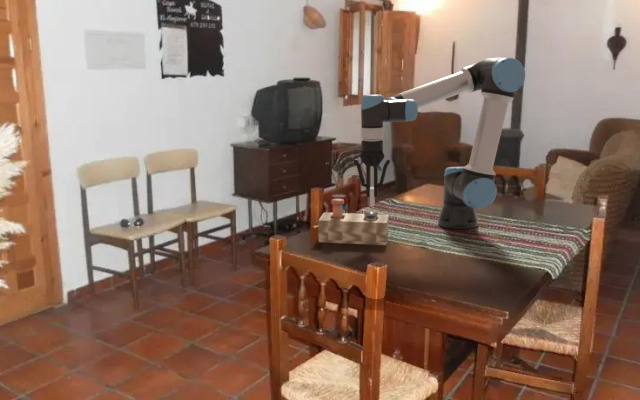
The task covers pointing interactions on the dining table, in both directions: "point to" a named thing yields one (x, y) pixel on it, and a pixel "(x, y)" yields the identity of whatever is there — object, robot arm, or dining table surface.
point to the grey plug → (370, 215)
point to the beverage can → (345, 205)
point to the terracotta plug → (337, 208)
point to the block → (353, 229)
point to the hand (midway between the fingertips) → (372, 205)
